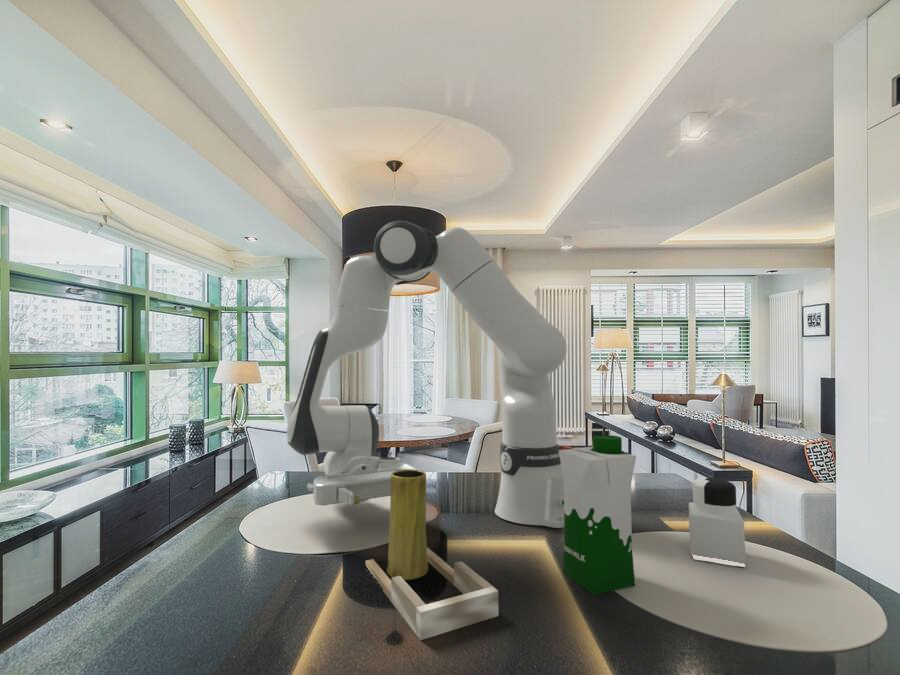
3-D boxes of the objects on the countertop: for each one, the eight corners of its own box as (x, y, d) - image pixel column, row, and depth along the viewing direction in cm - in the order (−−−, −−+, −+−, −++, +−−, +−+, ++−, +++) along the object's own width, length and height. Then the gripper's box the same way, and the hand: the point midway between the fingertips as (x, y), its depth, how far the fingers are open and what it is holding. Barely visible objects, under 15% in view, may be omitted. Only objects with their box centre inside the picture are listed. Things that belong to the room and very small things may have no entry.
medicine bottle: (738, 551, 74) (736, 477, 75) (746, 569, 68) (743, 488, 68) (689, 543, 77) (687, 472, 78) (692, 560, 71) (690, 482, 71)
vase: (422, 582, 63) (422, 479, 64) (380, 578, 64) (381, 477, 65) (432, 564, 69) (433, 469, 70) (394, 560, 70) (395, 467, 71)
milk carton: (645, 588, 62) (642, 440, 63) (592, 600, 59) (589, 445, 60) (601, 561, 70) (599, 431, 71) (552, 571, 67) (551, 435, 68)
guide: (427, 553, 73) (428, 534, 73) (498, 615, 55) (498, 590, 55) (365, 567, 68) (365, 547, 68) (420, 640, 50) (420, 612, 50)
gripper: (305, 467, 85) (321, 484, 73) (406, 456, 95) (435, 470, 82) (304, 501, 85) (320, 524, 72) (405, 487, 94) (434, 505, 82)
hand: (382, 495), depth 77 cm, fingers open, 8 cm apart
